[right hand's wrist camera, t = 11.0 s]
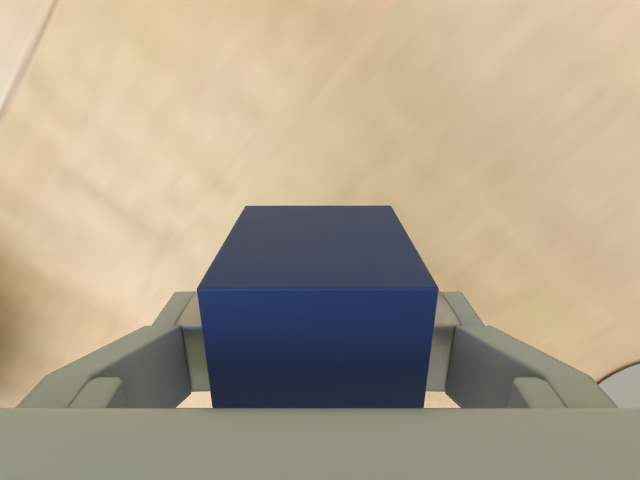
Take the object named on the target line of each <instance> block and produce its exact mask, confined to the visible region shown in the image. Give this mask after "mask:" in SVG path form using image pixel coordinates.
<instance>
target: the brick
mask: <svg viewBox="0 0 640 480" xmlns="http://www.w3.org/2000/svg"><path fill="white" fill-rule="evenodd" d="M438 291H439V289H438V287H437V285H436V283H435V281H434V280H433V278H432V276H431V274H430V273H429V271H428V269H427V268H426V266H425V264H424V262H423V261H422V259H421V257H420V255H419V254H418V252H417V250H416V249H415V247H414V245H413V243H412V242H411V240H410V238H409V236H408V235H407V233H406V231H405V230H404V228H403V226H402V224H401V223H400V221H399V219H398V217H397V216H396V214H395V212H394V211H393V209H392V207H391V206H245V208H244V210H243V211H242V213H241V215H240V216H239V218H238V220H237V221H236V223H235V225H234V227H233V228H232V230H231V232H230V233H229V235H228V237H227V238H226V240H225V242H224V244H223V245H222V247H221V249H220V250H219V252H218V254H217V255H216V257H215V259H214V261H213V262H212V264H211V266H210V267H209V269H208V271H207V272H206V274H205V276H204V278H203V279H202V281H201V283H200V284H199V286H198V288H197V295H198V302H199V310H200V317H201V325H202V332H203V340H204V347H205V354H206V362H207V369H208V377H209V384H210V392H211V399H212V406H213V408H423V407H424V400H425V392H426V384H427V376H428V369H429V361H430V353H431V345H432V337H433V330H434V322H435V314H436V306H437V298H438Z"/></svg>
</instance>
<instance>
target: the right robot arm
mask: <svg viewBox="0 0 640 480" xmlns="http://www.w3.org/2000/svg"><path fill="white" fill-rule="evenodd" d="M196 391H210V384H209V377H208V369H207V362H206V354H205V347H204V340H203V332H202V325H201V317H200V310H199V302H198V295H197V292H195V291H194V292H175V293H174V294H173V296H172V297H171V298H170V300H169V301H168V303H167V304H166V306H165V307H164V308H163V310H162V311H161V313H160V314H159V316H158V317H157V318H156V320H155V321H154V323H153V324H152V326H144V327H142V328H140V329H138V330H136V331H134V332H132V333H130V334H128V335H126V336H124V337H122V338H120V339H118V340H116V341H114V342H112V343H110V344H108V345H106V346H104V347H102V348H100V349H98V350H96V351H94V352H92V353H90V354H88V355H86V356H84V357H82V358H80V359H78V360H76V361H74V362H72V363H70V364H68V365H66V366H64V367H62V368H60V369H58V370H56V371H54V372H52V373H50V374H48V375H46V376H45V377H44V378H43V379H42V380H41V381H40V382H39V383H38V384H37V386H36V387H35V388H34V389H33V390H32V391H31V392H30V393H29V394H28V395H27V396H26V397H25V398H24V399H23V400H22V402H21V403H20V404H19V405H18V406H17V407H16V408H0V480H640V363H639V364H636V365H633V366H630V367H628V368H626V369H623V370H621V371H619V372H617V373H615V374H613V375H612V376H610V377H608V378H607V379H605V380H604V381H602V382H601V383H600V384H597V383H596V382H595V381H594V380H593V379H592V378H591V376H589V375H587V374H585V373H583V372H581V371H579V370H577V369H575V368H573V367H571V366H569V365H567V364H565V363H563V362H561V361H559V360H557V359H555V358H553V357H551V356H549V355H547V354H545V353H543V352H541V351H540V350H538V349H536V348H534V347H532V346H530V345H528V344H526V343H524V342H522V341H520V340H518V339H516V338H514V337H512V336H510V335H508V334H506V333H504V332H502V331H500V330H498V329H496V328H494V327H492V326H485V325H484V324H483V322H482V321H481V319H480V318H479V317H478V315H477V314H476V312H475V311H474V309H473V308H472V306H471V305H470V304H469V302H468V301H467V299H466V298H465V296H464V295H463V293H461V292H459V291H456V292H438V298H437V306H436V314H435V322H434V330H433V337H432V345H431V353H430V361H429V369H428V376H427V384H426V391H440V392H445V393H446V394H447V395H448V396H449V397H450V398H451V399H452V400H453V401H454V402H455V403H456V404H458V405H459V406H460V407H461V408H176V407H177V406H178V405H179V404H180V403H181V402H182V401H183V400H185V399H186V398H187V397H188V396H189V395H190V394H191V392H196Z"/></svg>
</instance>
